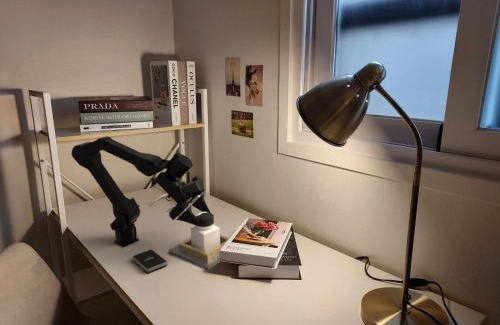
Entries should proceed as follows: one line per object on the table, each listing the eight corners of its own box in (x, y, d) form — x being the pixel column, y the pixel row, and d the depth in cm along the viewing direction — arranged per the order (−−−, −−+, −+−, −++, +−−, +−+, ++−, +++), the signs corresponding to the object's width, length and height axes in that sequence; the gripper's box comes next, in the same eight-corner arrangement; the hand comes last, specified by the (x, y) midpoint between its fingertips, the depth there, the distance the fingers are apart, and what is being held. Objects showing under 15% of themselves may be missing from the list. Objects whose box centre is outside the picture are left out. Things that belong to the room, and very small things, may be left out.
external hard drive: (151, 254, 118) (151, 248, 118) (168, 267, 110) (167, 261, 110) (132, 261, 114) (131, 256, 113) (147, 275, 106) (147, 270, 105)
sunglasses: (192, 202, 164) (191, 193, 162) (169, 217, 152) (167, 207, 150) (171, 197, 171) (169, 187, 170) (147, 211, 160) (145, 201, 158)
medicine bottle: (220, 246, 120) (219, 213, 117) (204, 254, 115) (202, 220, 112) (207, 239, 125) (205, 208, 122) (191, 247, 120) (189, 214, 117)
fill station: (208, 269, 108) (207, 260, 107) (168, 253, 118) (167, 244, 117) (243, 246, 122) (243, 238, 121) (205, 233, 132) (204, 225, 131)
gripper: (175, 179, 105) (212, 216, 106) (198, 163, 123) (229, 195, 123) (153, 202, 109) (189, 238, 109) (178, 183, 127) (208, 214, 127)
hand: (205, 220), depth 117 cm, fingers open, 9 cm apart
